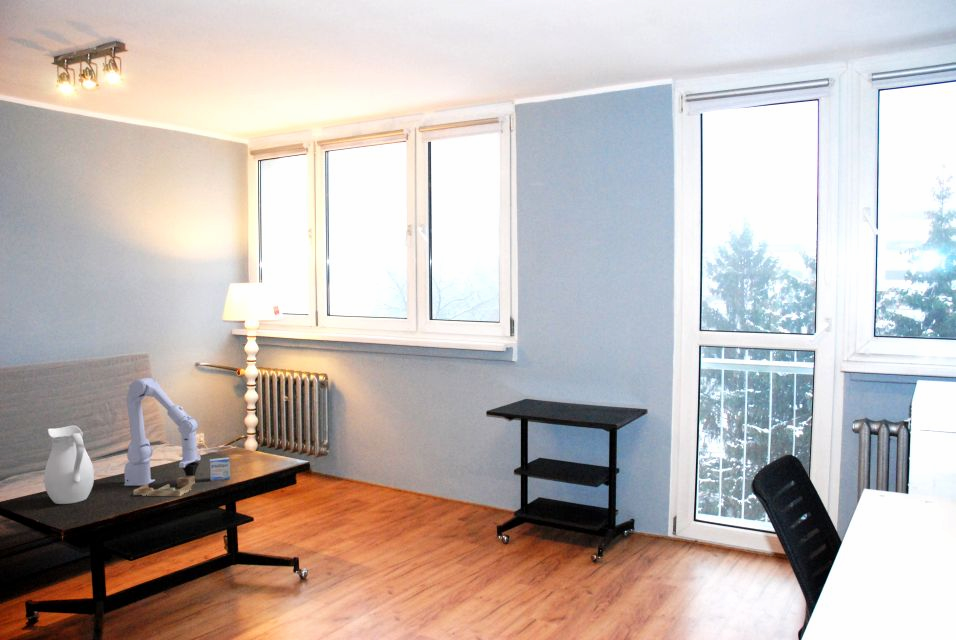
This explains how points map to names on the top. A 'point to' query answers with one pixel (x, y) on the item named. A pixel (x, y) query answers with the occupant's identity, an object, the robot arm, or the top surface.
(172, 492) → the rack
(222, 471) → the medicine box
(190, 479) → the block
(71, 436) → the pitcher
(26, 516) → the top surface
